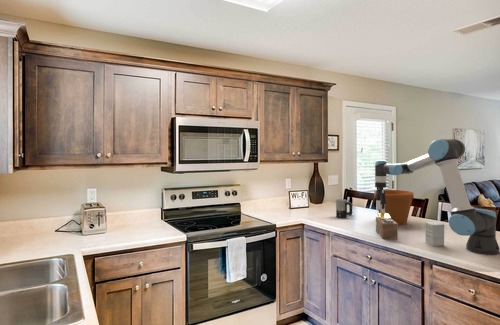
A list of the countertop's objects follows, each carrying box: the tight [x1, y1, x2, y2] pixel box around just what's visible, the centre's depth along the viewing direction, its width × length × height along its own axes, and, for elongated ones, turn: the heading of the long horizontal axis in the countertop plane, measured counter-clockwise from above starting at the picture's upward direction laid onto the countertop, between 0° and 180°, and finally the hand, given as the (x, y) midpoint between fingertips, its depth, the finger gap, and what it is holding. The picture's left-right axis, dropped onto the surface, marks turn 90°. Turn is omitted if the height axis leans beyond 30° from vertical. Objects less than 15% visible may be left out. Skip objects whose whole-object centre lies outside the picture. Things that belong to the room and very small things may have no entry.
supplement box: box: [424, 221, 445, 247], centre depth 191 cm, size 7×7×13 cm
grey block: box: [384, 218, 393, 223], centre depth 208 cm, size 7×4×11 cm, turn 171°
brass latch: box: [377, 212, 391, 219], centre depth 218 cm, size 1×7×8 cm
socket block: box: [375, 216, 399, 240], centre depth 214 cm, size 19×9×10 cm, turn 171°
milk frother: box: [335, 198, 353, 219], centre depth 274 cm, size 14×16×15 cm
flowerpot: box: [373, 189, 415, 226], centre depth 250 cm, size 28×28×24 cm
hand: (380, 211), depth 229 cm, fingers open, 13 cm apart
